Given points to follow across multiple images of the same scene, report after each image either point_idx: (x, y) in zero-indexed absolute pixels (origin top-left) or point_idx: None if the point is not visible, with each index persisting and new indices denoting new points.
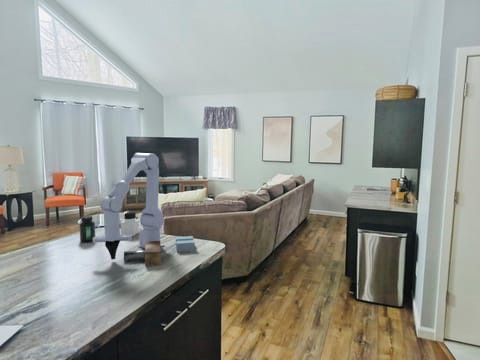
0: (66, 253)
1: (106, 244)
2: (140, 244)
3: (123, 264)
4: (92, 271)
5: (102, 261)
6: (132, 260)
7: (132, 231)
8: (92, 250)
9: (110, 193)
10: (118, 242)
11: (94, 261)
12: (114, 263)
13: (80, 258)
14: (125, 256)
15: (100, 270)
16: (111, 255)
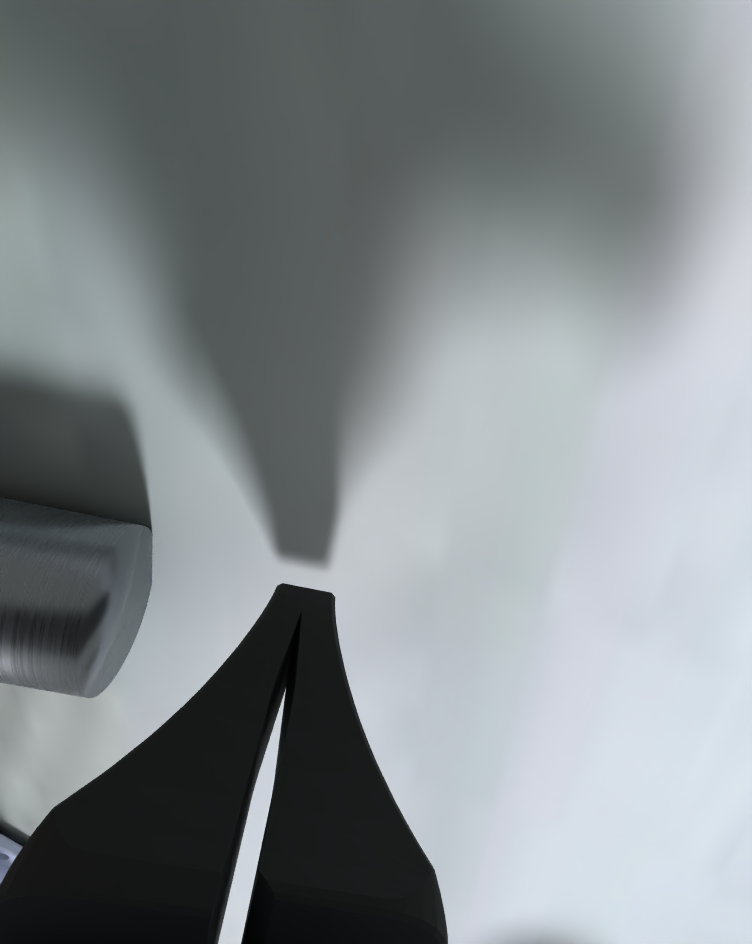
0: (746, 929)
1: (405, 932)
2: (1, 877)
3: (151, 421)
4: (686, 321)
5: (453, 645)
6: (12, 500)
7: None
8: (504, 912)
9: None
10: (9, 935)
11: (550, 681)
12: (296, 518)
13: (672, 803)
14: (73, 558)
15: (547, 308)
16: (318, 637)
